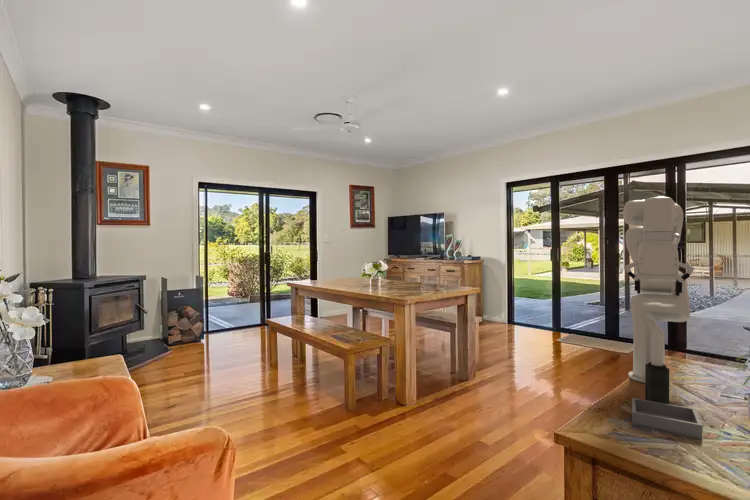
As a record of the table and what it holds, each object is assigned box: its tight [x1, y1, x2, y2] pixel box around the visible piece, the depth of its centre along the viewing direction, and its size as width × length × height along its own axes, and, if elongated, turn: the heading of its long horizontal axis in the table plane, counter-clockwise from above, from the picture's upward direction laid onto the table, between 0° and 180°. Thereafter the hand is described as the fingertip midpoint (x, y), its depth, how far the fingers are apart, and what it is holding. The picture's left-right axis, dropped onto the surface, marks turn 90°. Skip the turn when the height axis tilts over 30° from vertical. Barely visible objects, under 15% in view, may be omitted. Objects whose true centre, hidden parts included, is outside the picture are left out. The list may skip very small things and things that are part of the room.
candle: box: [644, 327, 670, 404], centre depth 121 cm, size 5×5×25 cm
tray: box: [631, 397, 703, 441], centre depth 110 cm, size 12×15×4 cm
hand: (657, 294), depth 120 cm, fingers open, 9 cm apart
